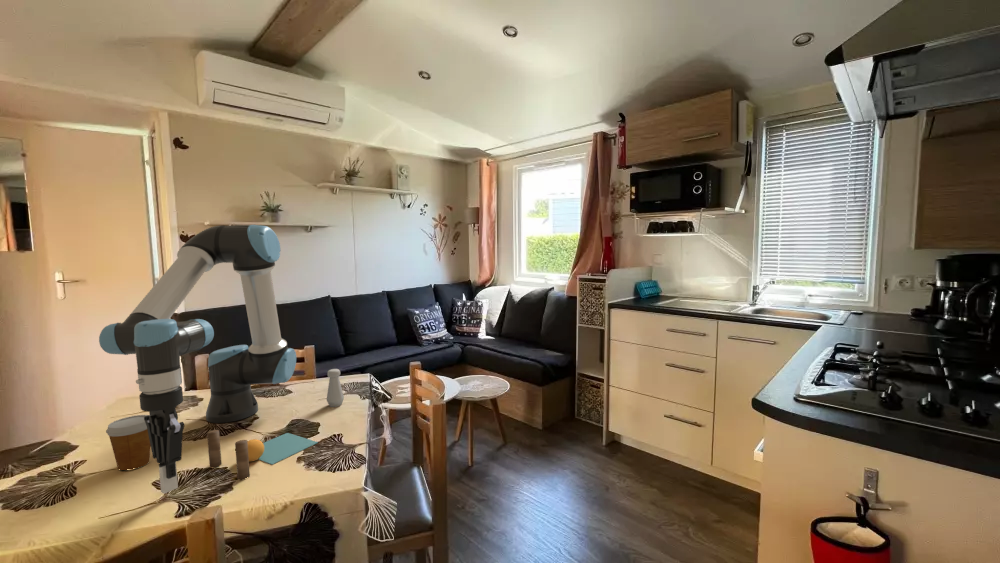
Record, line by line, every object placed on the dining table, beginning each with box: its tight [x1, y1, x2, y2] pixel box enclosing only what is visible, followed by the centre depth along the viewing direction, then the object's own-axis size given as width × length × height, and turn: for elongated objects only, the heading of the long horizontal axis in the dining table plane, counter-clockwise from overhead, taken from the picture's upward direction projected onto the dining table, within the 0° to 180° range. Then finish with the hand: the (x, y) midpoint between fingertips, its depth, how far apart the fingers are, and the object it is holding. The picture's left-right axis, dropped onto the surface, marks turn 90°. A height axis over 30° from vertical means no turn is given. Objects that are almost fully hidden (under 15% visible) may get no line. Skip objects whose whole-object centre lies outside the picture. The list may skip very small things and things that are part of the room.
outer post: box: [234, 439, 251, 480], centre depth 105 cm, size 3×3×9 cm
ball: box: [247, 438, 264, 462], centre depth 114 cm, size 6×6×6 cm
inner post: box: [206, 429, 223, 468], centre depth 111 cm, size 3×3×9 cm
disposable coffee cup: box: [105, 414, 151, 470], centre depth 112 cm, size 10×10×12 cm
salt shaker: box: [326, 368, 345, 408], centre depth 153 cm, size 6×6×13 cm
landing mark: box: [257, 432, 319, 466], centre depth 121 cm, size 14×14×1 cm
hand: (169, 489), depth 97 cm, fingers closed
